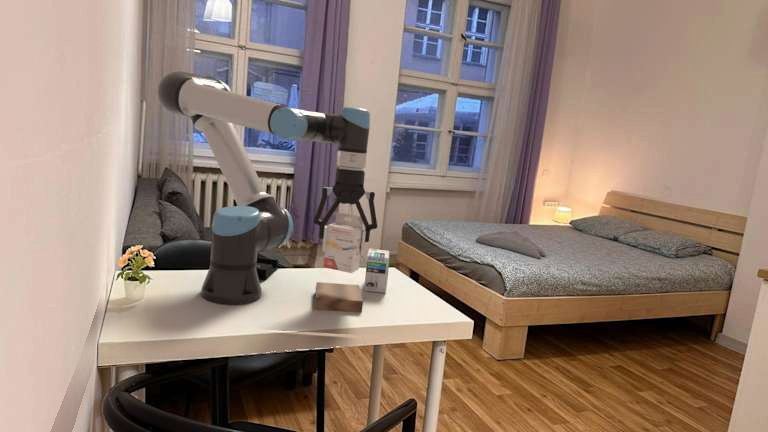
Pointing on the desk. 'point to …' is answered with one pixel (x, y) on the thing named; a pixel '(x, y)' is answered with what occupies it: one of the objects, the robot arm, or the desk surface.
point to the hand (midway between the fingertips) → (342, 252)
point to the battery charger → (266, 268)
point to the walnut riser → (338, 297)
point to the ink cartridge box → (344, 243)
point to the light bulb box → (377, 270)
